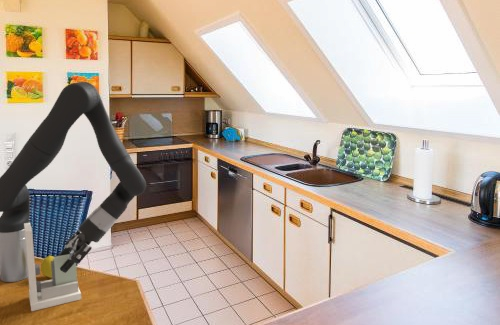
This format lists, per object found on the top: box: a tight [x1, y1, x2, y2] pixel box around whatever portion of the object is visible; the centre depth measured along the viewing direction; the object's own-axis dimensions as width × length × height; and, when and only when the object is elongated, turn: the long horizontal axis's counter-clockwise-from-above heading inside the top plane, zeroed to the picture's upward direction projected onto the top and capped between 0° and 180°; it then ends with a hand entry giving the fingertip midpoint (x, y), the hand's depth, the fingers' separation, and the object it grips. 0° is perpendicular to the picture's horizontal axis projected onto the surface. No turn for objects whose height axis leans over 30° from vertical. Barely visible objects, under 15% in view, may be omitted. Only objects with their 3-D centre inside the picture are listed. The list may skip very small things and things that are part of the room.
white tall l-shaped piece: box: [24, 222, 82, 312], centre depth 119 cm, size 14×9×24 cm, turn 122°
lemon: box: [40, 255, 54, 279], centre depth 133 cm, size 6×6×8 cm
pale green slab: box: [51, 253, 78, 286], centre depth 121 cm, size 7×3×11 cm, turn 122°
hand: (60, 265), depth 120 cm, fingers open, 8 cm apart
